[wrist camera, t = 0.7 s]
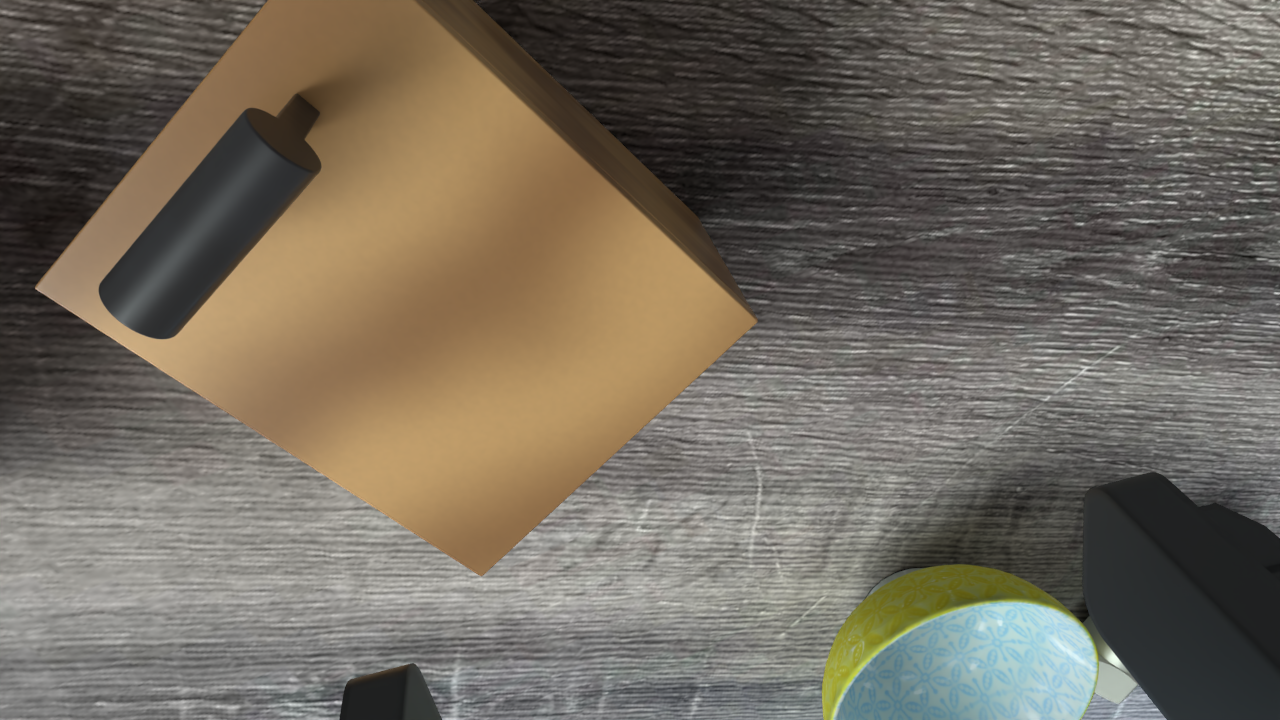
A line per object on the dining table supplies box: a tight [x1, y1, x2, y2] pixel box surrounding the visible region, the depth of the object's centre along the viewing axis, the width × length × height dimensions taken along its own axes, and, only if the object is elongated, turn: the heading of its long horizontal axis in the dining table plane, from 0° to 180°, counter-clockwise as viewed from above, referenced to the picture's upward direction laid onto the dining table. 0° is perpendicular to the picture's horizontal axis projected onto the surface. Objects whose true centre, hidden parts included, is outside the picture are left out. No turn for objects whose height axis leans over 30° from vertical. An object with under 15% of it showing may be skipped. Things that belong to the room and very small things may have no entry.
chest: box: [422, 0, 750, 307], centre depth 30 cm, size 14×12×8 cm
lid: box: [35, 0, 758, 576], centre depth 24 cm, size 14×12×5 cm
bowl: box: [822, 564, 1099, 720], centre depth 42 cm, size 11×12×6 cm
